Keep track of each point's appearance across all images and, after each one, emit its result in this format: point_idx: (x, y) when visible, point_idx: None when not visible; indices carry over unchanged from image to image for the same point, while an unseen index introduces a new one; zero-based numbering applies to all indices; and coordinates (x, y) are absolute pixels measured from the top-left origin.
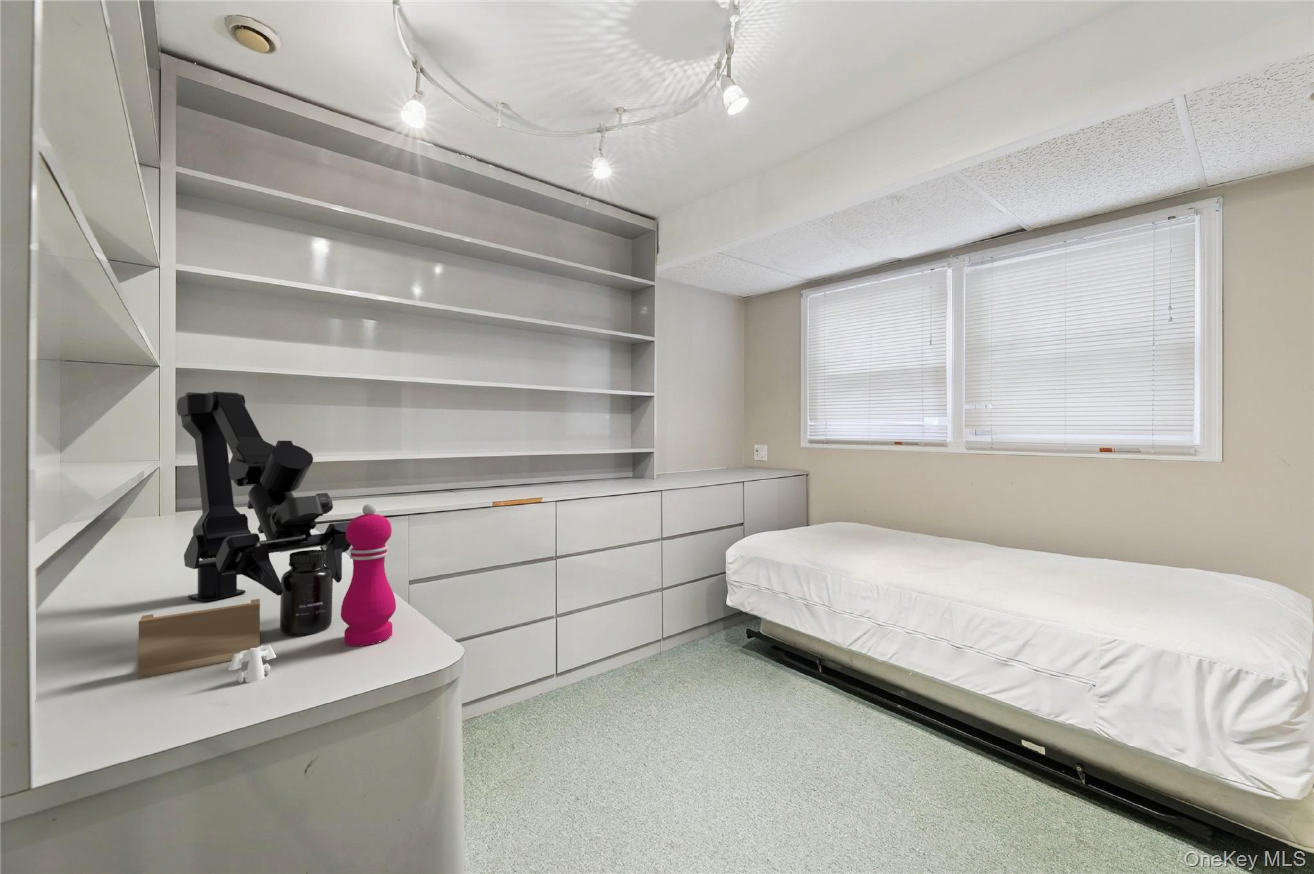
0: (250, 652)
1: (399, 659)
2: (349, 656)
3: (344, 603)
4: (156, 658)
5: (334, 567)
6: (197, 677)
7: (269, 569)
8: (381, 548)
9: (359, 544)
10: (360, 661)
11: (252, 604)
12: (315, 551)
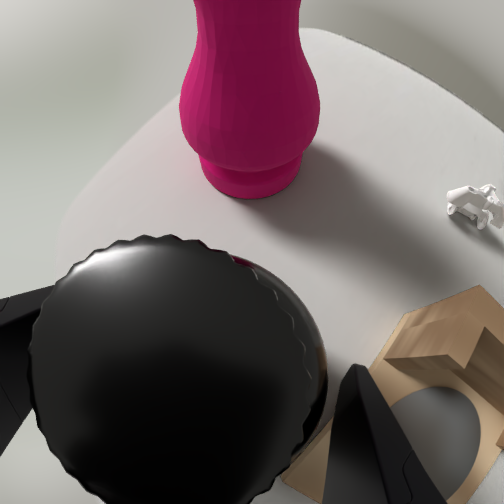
0: (493, 196)
1: (317, 68)
2: (340, 132)
3: (313, 109)
4: None
5: None
6: None
7: (403, 461)
8: None
9: None
10: (348, 106)
11: (491, 299)
12: (95, 345)
